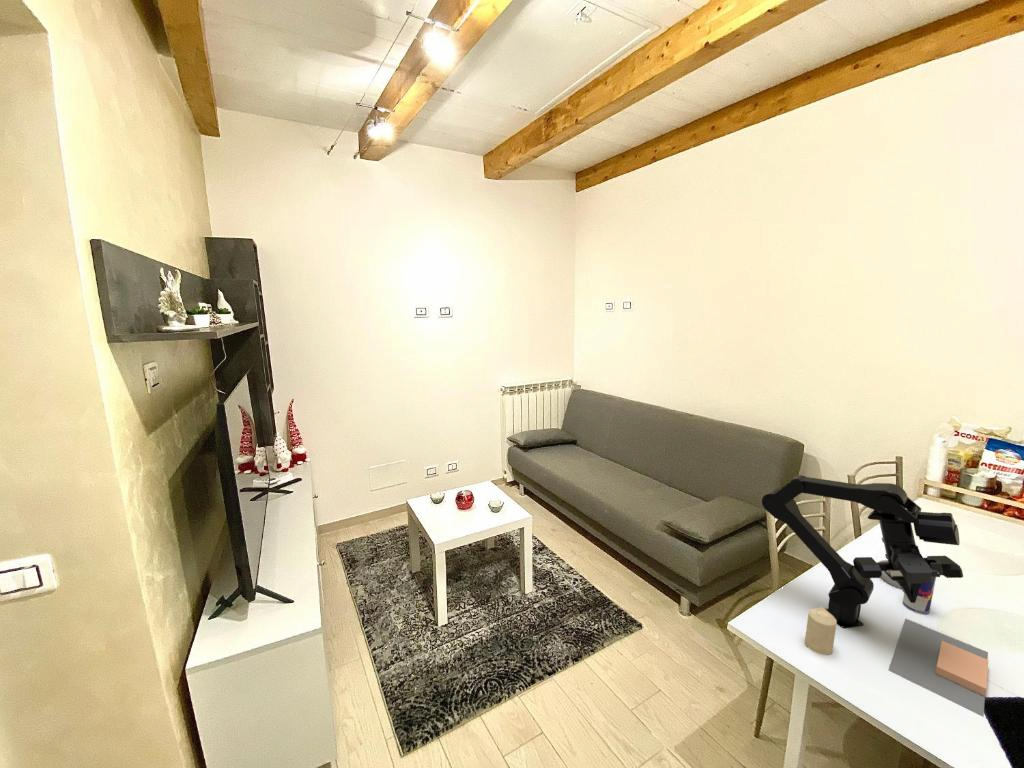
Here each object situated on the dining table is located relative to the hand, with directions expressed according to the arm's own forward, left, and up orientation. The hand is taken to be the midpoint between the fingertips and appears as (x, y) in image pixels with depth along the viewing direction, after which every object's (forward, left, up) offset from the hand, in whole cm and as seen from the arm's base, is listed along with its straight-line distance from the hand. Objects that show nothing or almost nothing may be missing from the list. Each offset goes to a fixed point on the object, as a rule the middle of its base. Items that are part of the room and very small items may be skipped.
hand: (912, 601), depth 100 cm
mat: (+3, -5, -12) cm, 14 cm away
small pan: (+28, +22, -13) cm, 38 cm away
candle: (-20, +3, -13) cm, 24 cm away
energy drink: (+17, +10, -13) cm, 23 cm away
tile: (+3, -5, -11) cm, 12 cm away
